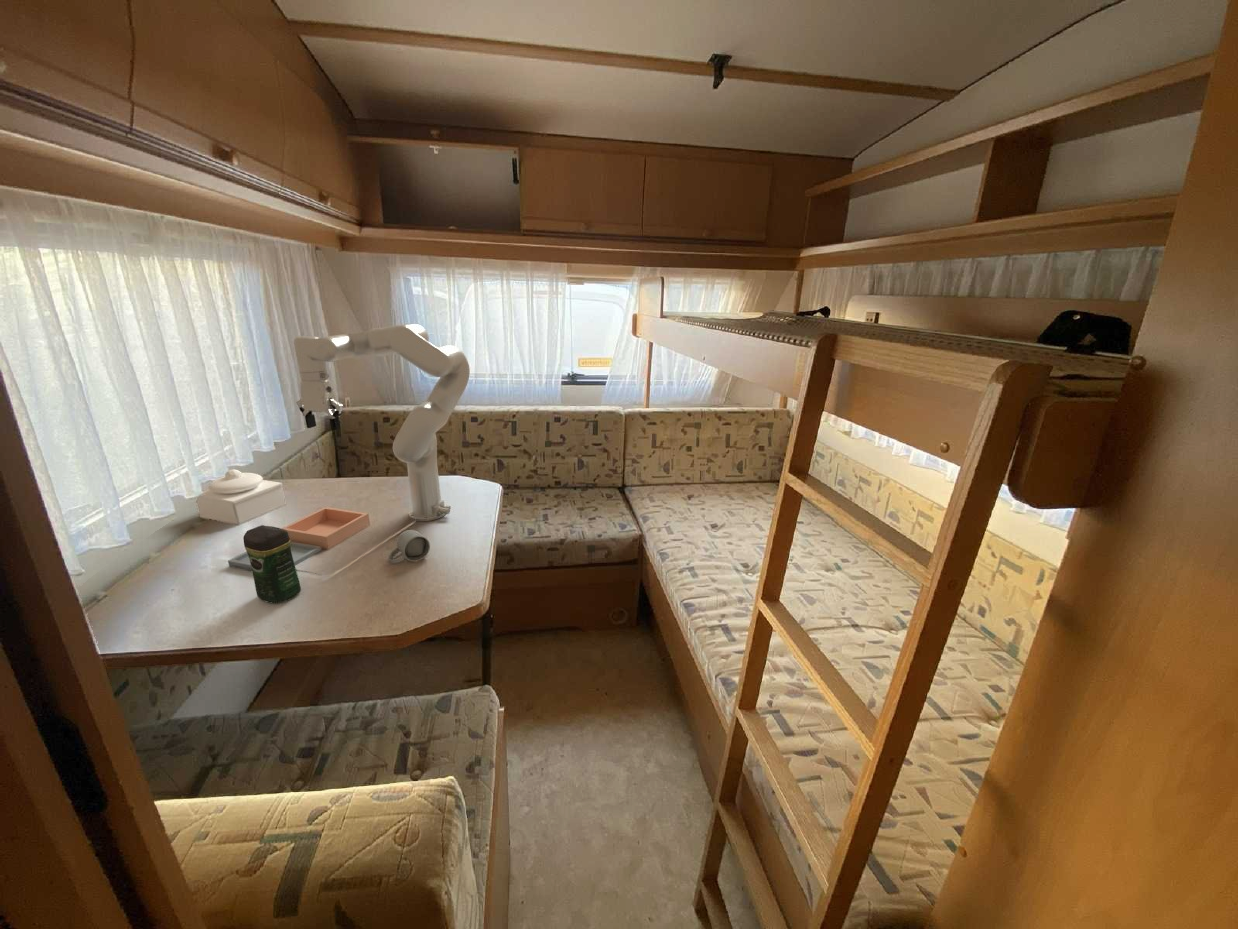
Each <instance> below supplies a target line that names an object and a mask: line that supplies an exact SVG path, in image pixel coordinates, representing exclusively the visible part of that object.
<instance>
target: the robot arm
mask: <svg viewBox="0 0 1238 929" xmlns="http://www.w3.org/2000/svg"><path fill="white" fill-rule="evenodd" d="M293 344H294V345H293V346H294V351H295V355H296V362H297V367H298V371H299V376H300V386H299V387H300V399H298V401H296V405H297V407H298V408H299V411H300V412H301V413H302V416H303V417H304V420H305V425H306V428H307V429H311V428H315V427H317V423H316V418H315V414H313V413H326V414H327V415H328V416H329V425H330V431H333V432H335V431H337V430H341V422H340V419H339V418H340V417H341V414H342V411H343V408H344V407H343V406H344V405H343V404H342V403H340V402H338V399H337V395H336V391H335V388H334V386H333V383H332V381H331V380H329V377H330V375H329V373H328V370H327V369H328V368H327V364H326V363H333V362H338V361H341V360H345V359H350V358H356V357H362V356H371V355H373V356H376V357H386V356H393V355H398V356H400V357H401V358H403V359H404V360H406V361H407V362H409V363H411V364H412V365H413V366H416V367H417V368H418V369H420V370H421V371H423V372H424V373H426V374H428V375H430V376H432V377H436V378H439V379H438V380H437V382H436V383H435V384H434V387H433V388H432V391H430V393H429V395H428V396H427V398H426V399H425V401H424V402H422V403H420V404H419V405H417V406H416V407H414V408H413V409H412V410H411V411H410V413H409V414H408V415H407V417H406V418H405V420H404V422H403V424H402V426H401V427H400V429H399V431H398V432H397V434H396V436H395V438H394V440H393V443H392V451H393V454H394V456H395V458H396V459H397V460H399V461H400V462H403V463H406V467H407V477H408V484H409V492H410V500H411V507H412V508H411V509H410V510H409V511H408V517H410V518H411V519H414V520H413V521H414V522H429V521H434V520H438V519H441V518H442V517H444V516H445V515H449V514H450V512H451V508H452V506H450V505H445V500H442V498H441V497H442V496H441V488H440V476H439V470H438V469H439V468H438V440H437V439H438V438H437V435H436V433H437V432H438V431H439V430H440V429H443V427H444V426H445V425H446V424H447V423H448V420H449V419H450V417H451V414H452V413H453V412H454V410H455V408H456V406H457V404H458V403H459V400H460V399H461V397H462V395H463V394H464V392H465V390H466V387H467V386H468V383H469V380H470V375H471V374H470V373H471V371H470V364H469V361H468V359H467V357H466V355H465V353H464V352H463V351H462V350H461V349H460V348H458V347H457V346H455V345H450V344H448V345H447V344H446V345H441V346H435V345H434V344H432V343H431V342H430V341H429V333H428V331H427V330H426V329H425V328H424V327H423V326H422V325H421V324H420V325H419V324H416V323H408V324H407V323H405V324H398V325H391V326H385V327H384V326H383V327H377V328H374V327H373V328H370V329H369V330H367V331H359V332H358V331H357V332H350V333H343V334H342V333H341V334H335V335H330V336H325V337H324V336H323V337H319V336H315V335H303V336H297V337H295V338H294V340H293Z"/></svg>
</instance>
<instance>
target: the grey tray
mask: <svg viewBox="0 0 1238 929" xmlns="http://www.w3.org/2000/svg"><path fill="white" fill-rule="evenodd" d="M290 542H291V541H290ZM290 547H291V553H292V557H293V561H294V565H295V566H297V565H298V564H300V563H303V561H306V560H307V559H309V558H311V557H312V556H314V555H316V554H317V553H319V552H321V551H323V550H322V549H323V548H321V547H320V546H314V545H309V544H303V543H297V542H291V543H290ZM227 563H228V567H229V568H232V569H238V570H243V571H247V572H252V568H251V563H250V559H249V556H248V554H247V551H246V550H245V552H242V553H241V554H238V555H237V556H234V557H233V558H230V559H228V560H227Z"/></svg>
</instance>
